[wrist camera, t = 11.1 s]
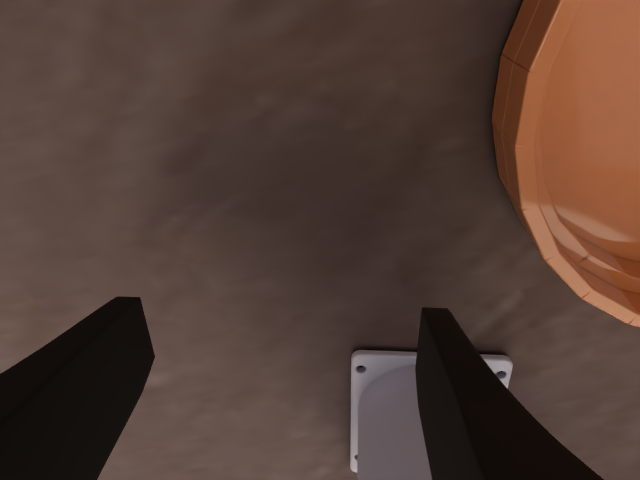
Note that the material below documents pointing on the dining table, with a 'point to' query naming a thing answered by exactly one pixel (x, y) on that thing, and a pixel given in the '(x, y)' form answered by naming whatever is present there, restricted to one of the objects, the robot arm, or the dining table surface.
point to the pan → (576, 143)
